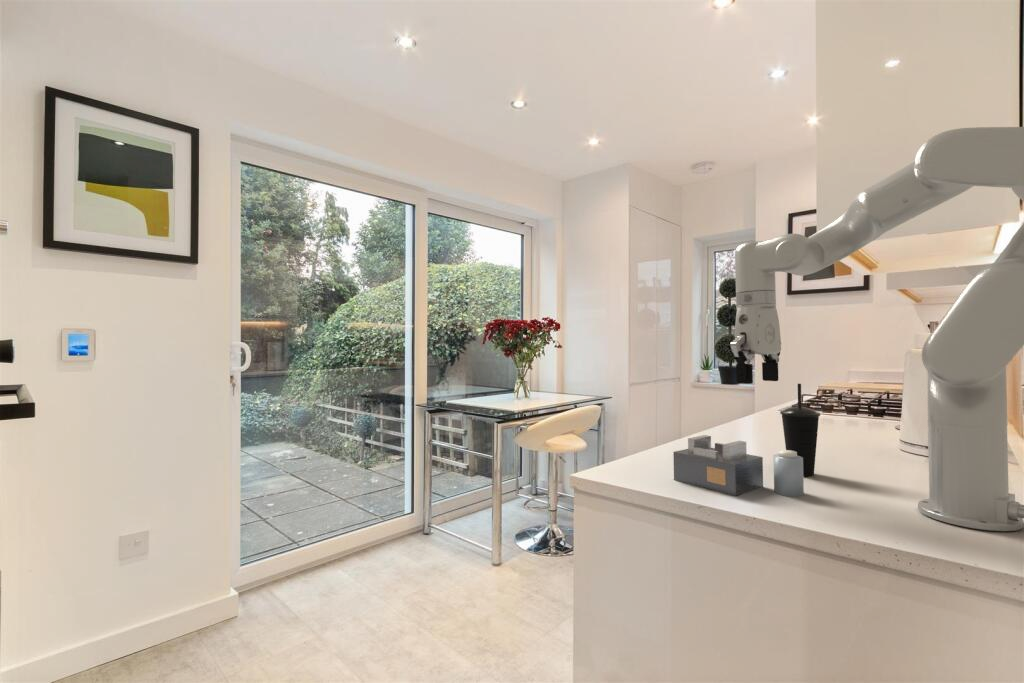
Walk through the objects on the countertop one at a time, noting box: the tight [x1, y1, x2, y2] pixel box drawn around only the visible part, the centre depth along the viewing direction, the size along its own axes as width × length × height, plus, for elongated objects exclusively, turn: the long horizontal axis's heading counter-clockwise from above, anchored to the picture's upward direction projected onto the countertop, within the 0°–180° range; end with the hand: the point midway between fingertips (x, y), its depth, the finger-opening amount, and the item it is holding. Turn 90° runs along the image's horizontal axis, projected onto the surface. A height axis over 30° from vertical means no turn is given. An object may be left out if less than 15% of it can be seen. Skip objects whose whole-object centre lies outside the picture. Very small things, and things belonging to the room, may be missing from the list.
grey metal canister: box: [772, 449, 805, 498], centre depth 94 cm, size 5×5×8 cm
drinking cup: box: [779, 383, 821, 478], centre depth 107 cm, size 8×8×20 cm
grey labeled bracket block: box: [672, 434, 764, 497], centre depth 101 cm, size 14×10×9 cm
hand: (757, 382), depth 102 cm, fingers open, 9 cm apart
